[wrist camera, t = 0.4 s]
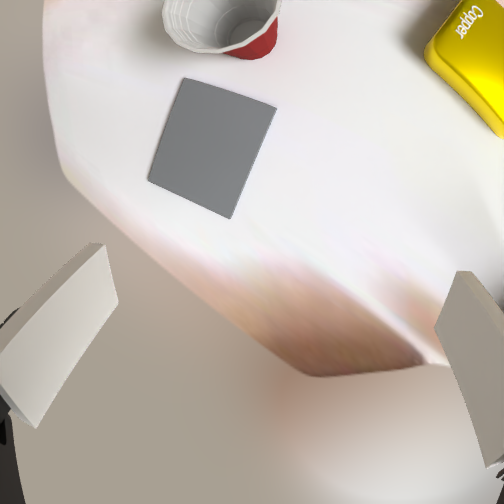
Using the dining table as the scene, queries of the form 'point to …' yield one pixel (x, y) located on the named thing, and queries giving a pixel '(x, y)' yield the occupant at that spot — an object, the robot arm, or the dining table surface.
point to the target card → (210, 145)
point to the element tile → (473, 57)
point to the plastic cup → (223, 26)
